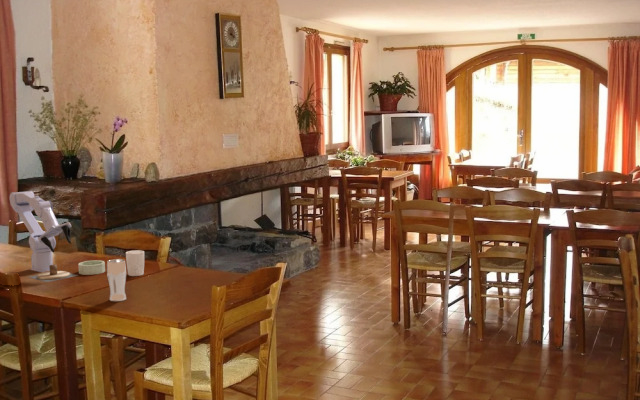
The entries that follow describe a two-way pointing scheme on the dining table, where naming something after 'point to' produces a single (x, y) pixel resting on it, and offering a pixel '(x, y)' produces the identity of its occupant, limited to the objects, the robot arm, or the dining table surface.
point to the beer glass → (116, 279)
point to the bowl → (91, 267)
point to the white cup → (135, 262)
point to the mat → (53, 279)
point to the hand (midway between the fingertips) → (61, 246)
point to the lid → (53, 274)
